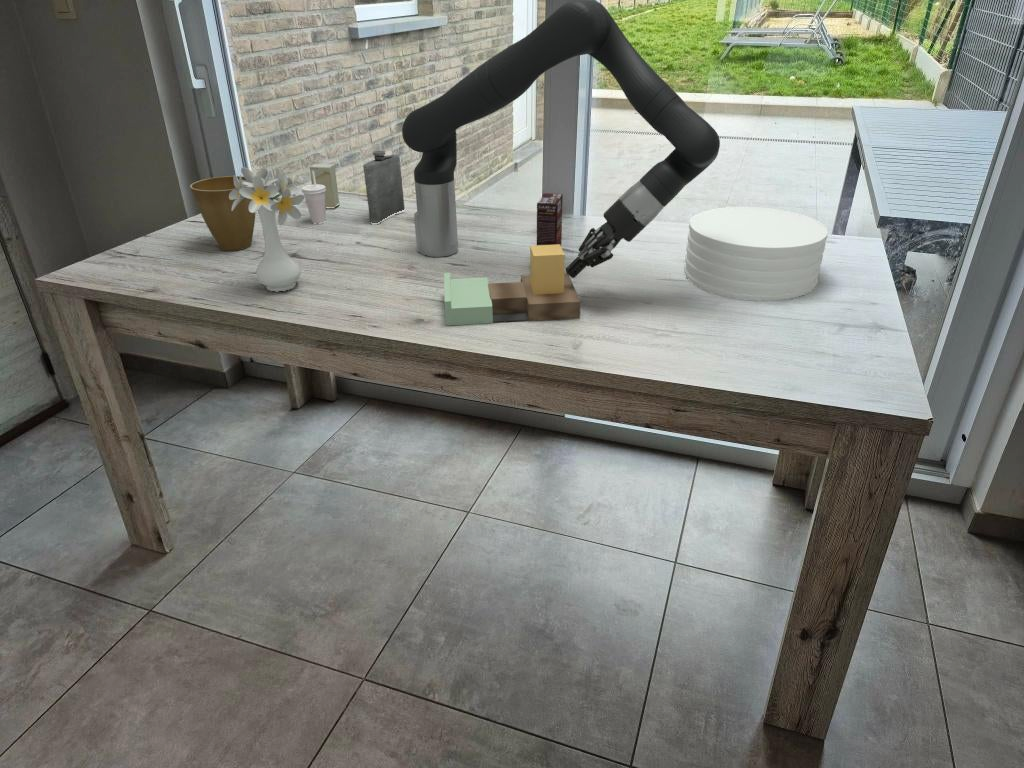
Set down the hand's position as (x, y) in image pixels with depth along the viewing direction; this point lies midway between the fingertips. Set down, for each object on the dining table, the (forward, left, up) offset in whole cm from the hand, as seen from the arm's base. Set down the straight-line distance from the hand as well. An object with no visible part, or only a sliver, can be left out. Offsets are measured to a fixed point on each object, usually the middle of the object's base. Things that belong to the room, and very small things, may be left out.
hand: (568, 274), depth 140 cm
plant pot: (-90, +1, -6) cm, 91 cm away
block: (-4, -2, -3) cm, 5 cm away
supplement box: (-11, +17, -6) cm, 22 cm away
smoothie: (-83, +25, -6) cm, 87 cm away
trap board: (-7, -4, -6) cm, 10 cm away
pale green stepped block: (-18, -10, -6) cm, 21 cm away
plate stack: (+31, +29, -7) cm, 43 cm away
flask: (-68, +36, -6) cm, 78 cm away
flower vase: (-60, -16, -6) cm, 63 cm away
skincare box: (-90, +38, -6) cm, 98 cm away
